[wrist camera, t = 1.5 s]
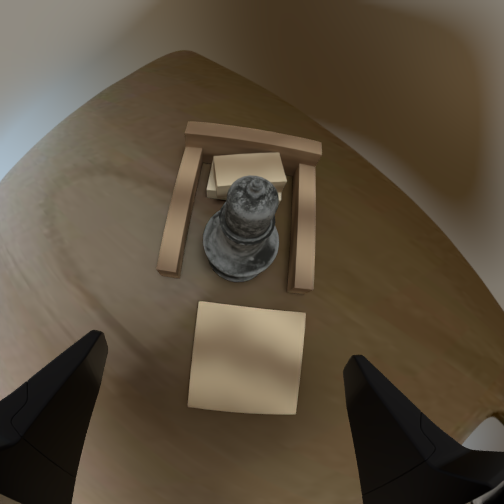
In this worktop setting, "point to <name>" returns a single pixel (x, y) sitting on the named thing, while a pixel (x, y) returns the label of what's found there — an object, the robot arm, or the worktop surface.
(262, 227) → the grey chess piece
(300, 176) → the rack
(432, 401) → the worktop surface
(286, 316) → the cork mat
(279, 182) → the offcut upper
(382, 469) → the robot arm
